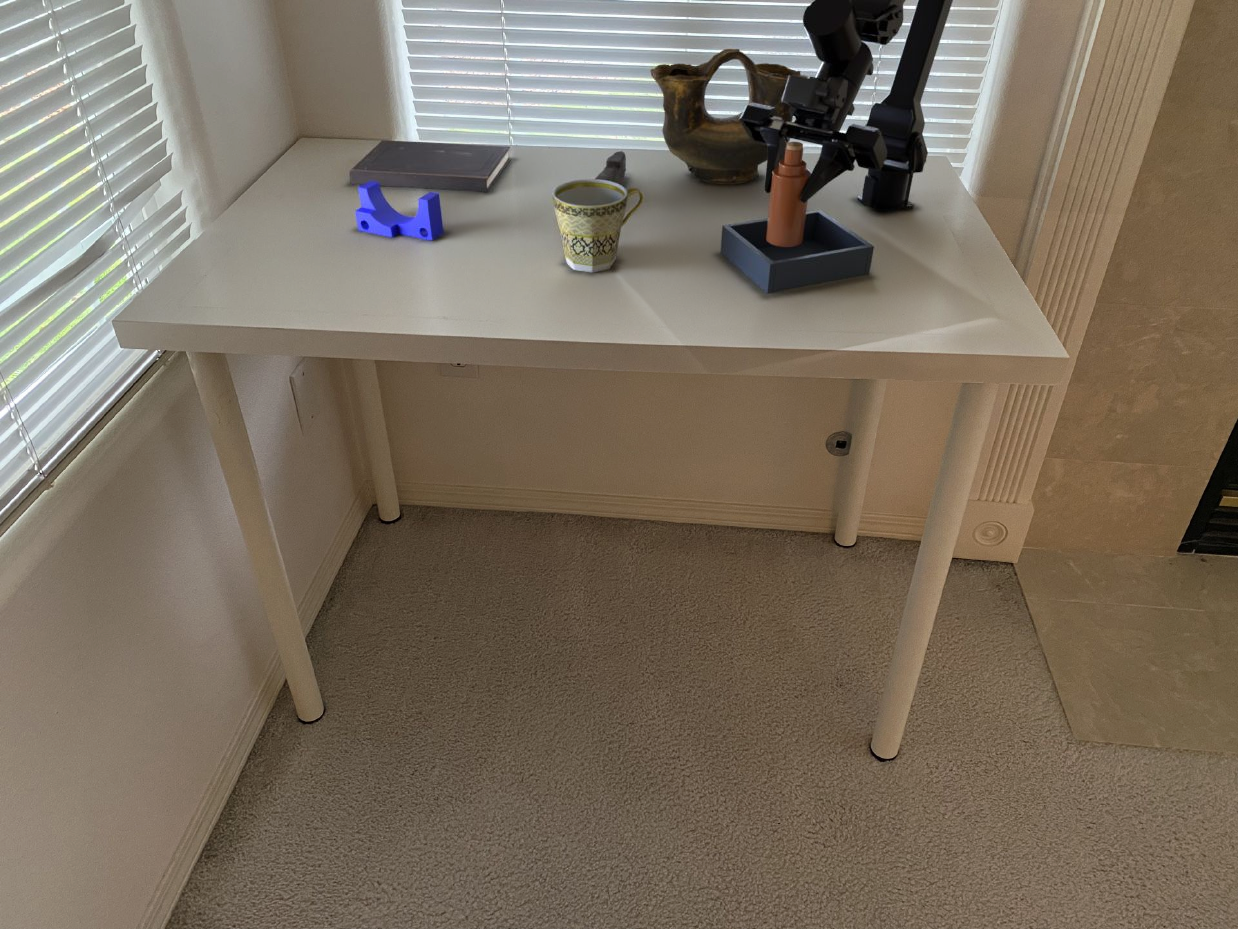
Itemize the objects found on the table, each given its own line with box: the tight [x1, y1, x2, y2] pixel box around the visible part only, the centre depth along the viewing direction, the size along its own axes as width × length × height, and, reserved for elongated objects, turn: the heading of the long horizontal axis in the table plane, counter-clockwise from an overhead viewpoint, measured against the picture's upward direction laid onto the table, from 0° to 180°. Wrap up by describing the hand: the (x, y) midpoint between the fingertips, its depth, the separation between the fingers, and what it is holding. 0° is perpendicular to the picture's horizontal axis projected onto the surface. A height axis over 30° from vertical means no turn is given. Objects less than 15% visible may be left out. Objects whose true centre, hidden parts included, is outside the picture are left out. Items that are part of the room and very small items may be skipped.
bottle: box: [766, 141, 812, 247], centre depth 119 cm, size 5×5×12 cm
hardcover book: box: [348, 139, 512, 193], centre depth 158 cm, size 16×23×2 cm
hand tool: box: [594, 150, 627, 186], centre depth 149 cm, size 19×4×5 cm, turn 160°
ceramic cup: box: [551, 178, 644, 273], centre depth 127 cm, size 13×10×10 cm
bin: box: [720, 209, 875, 295], centre depth 128 cm, size 16×14×4 cm
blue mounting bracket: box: [354, 181, 444, 242], centre depth 136 cm, size 12×4×6 cm, turn 65°
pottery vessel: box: [650, 48, 809, 185], centre depth 151 cm, size 25×11×20 cm, turn 96°
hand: (783, 196), depth 118 cm, fingers closed on bottle, 5 cm apart
